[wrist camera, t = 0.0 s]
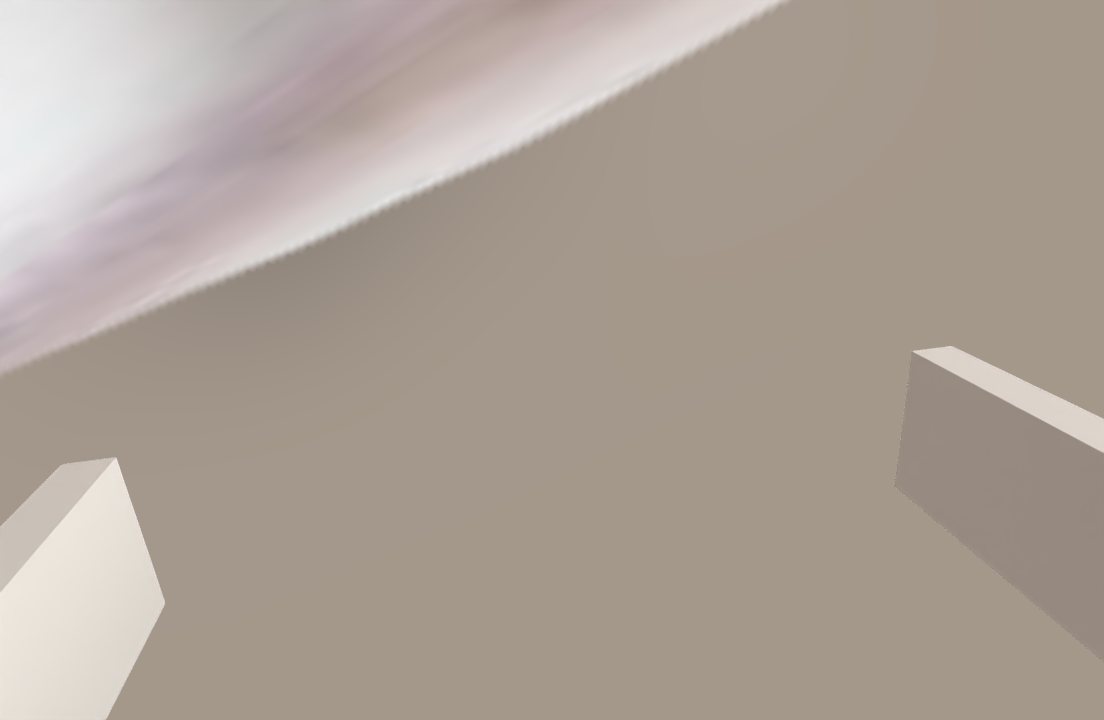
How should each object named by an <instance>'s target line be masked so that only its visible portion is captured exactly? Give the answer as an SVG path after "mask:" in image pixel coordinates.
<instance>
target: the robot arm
mask: <svg viewBox="0 0 1104 720" xmlns="http://www.w3.org/2000/svg"><path fill="white" fill-rule="evenodd" d="M895 487H896V488H897V489H898V490H899V491H901V492H902V493H903V494H904V495H905V496H906V497H908V498H909V499H910V500H911V501H912V502H913V503H915V504H916V505H917V506H918V507H919V508H921V509H922V510H923V511H924V512H925V513H927V514H928V515H929V516H930V517H931V518H933V519H934V520H935V521H936V522H937V523H939V524H940V525H941V526H942V527H943V528H944V529H946V530H947V531H948V532H949V533H951V534H952V535H953V536H954V537H955V538H956V539H958V540H959V541H960V542H961V543H962V544H964V545H965V546H966V547H967V548H968V549H969V550H971V551H972V552H973V553H974V554H975V555H977V556H978V557H979V558H980V559H982V560H983V561H984V562H985V563H986V564H987V565H989V566H990V567H991V568H992V569H994V570H995V571H996V572H997V573H998V574H999V575H1000V576H1002V577H1003V578H1004V579H1005V580H1006V581H1008V582H1009V583H1010V584H1011V585H1012V586H1014V587H1015V588H1016V589H1017V590H1019V591H1020V592H1021V593H1022V594H1023V595H1024V596H1026V597H1027V598H1028V599H1029V600H1030V601H1032V602H1033V603H1034V604H1035V605H1036V606H1037V607H1039V608H1040V609H1041V610H1042V611H1044V612H1045V613H1046V614H1047V615H1048V616H1049V617H1051V618H1052V619H1053V620H1054V621H1055V622H1056V623H1058V624H1059V625H1060V626H1061V627H1062V628H1064V629H1065V630H1066V631H1067V632H1069V633H1070V634H1071V635H1072V636H1073V637H1074V638H1076V639H1077V640H1078V641H1079V642H1080V643H1082V644H1083V645H1084V646H1085V647H1086V648H1088V649H1089V650H1090V651H1091V652H1092V653H1093V654H1095V655H1096V656H1097V657H1098V658H1099V659H1101V660H1102V661H1103V662H1104V419H1102V418H1100V417H1098V416H1096V415H1094V414H1092V413H1090V412H1088V411H1086V410H1084V409H1081V408H1080V407H1077V406H1076V405H1073V404H1071V403H1069V402H1067V401H1065V400H1063V399H1061V398H1059V397H1057V396H1055V395H1053V394H1050V393H1048V392H1046V391H1044V390H1042V389H1040V388H1038V387H1036V386H1034V385H1032V384H1030V383H1028V382H1026V381H1023V380H1021V379H1019V378H1017V377H1015V376H1013V375H1011V374H1009V373H1007V372H1005V371H1003V370H1000V369H998V368H996V367H994V366H992V365H990V364H988V363H986V362H984V361H982V360H979V359H978V358H975V357H973V356H971V355H969V354H967V353H965V352H963V351H961V350H959V349H957V348H955V347H953V346H948V347H940V348H933V349H925V350H918V351H912V355H911V363H910V370H909V378H908V386H907V393H906V401H905V409H904V418H903V425H902V432H901V441H900V448H899V456H898V464H897V472H896V479H895ZM164 605H165V601H164V598H163V595H162V592H161V589H160V586H159V583H158V580H157V577H156V574H155V571H154V568H153V565H152V563H151V559H150V556H149V553H148V550H147V547H146V545H145V542H144V539H143V536H142V533H141V530H140V527H139V524H138V521H137V518H136V515H135V512H134V509H133V506H132V504H131V500H130V497H129V494H128V491H127V488H126V486H125V482H124V479H123V476H122V473H121V471H120V468H119V465H118V462H117V459H116V457H115V458H107V459H99V460H92V461H85V462H78V463H69V464H62V465H61V466H60V467H59V468H58V469H57V470H56V471H55V472H54V473H53V474H52V475H51V476H50V477H49V478H48V479H47V480H46V481H45V482H44V483H43V484H42V485H41V486H40V487H39V488H38V489H37V490H36V491H35V492H34V493H33V494H32V495H31V496H30V497H29V498H28V499H27V500H26V501H25V502H24V503H23V504H22V505H21V506H20V507H19V508H18V510H16V511H15V512H14V513H13V514H12V516H10V517H9V518H8V520H6V522H4V524H3V525H2V526H1V527H0V720H106V718H107V716H108V714H109V712H110V710H111V708H112V706H113V705H114V702H115V700H116V698H117V697H118V695H119V693H120V691H121V688H122V687H123V685H124V683H125V681H126V679H127V677H128V675H129V673H130V671H131V669H132V667H133V665H134V664H135V661H136V660H137V658H138V656H139V654H140V652H141V650H142V648H143V646H144V644H145V642H146V640H147V638H148V636H149V634H150V632H151V630H152V628H153V626H154V625H155V623H156V621H157V619H158V617H159V615H160V612H161V611H162V609H163V607H164Z"/></svg>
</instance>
